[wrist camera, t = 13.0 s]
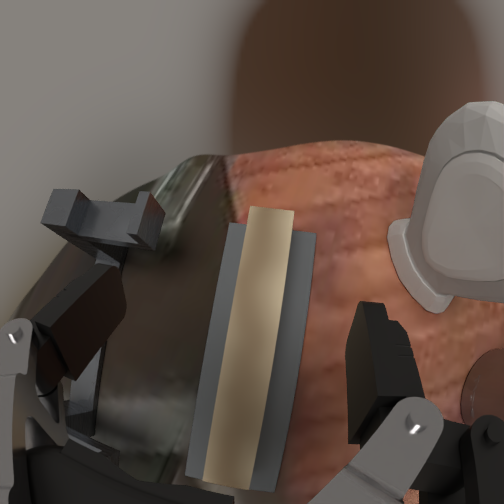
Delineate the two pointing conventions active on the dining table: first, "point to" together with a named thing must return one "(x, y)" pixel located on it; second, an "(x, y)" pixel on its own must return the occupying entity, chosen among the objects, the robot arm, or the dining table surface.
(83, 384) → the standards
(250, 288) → the rail
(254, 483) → the mat
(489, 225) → the soap bottle
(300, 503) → the dining table surface
